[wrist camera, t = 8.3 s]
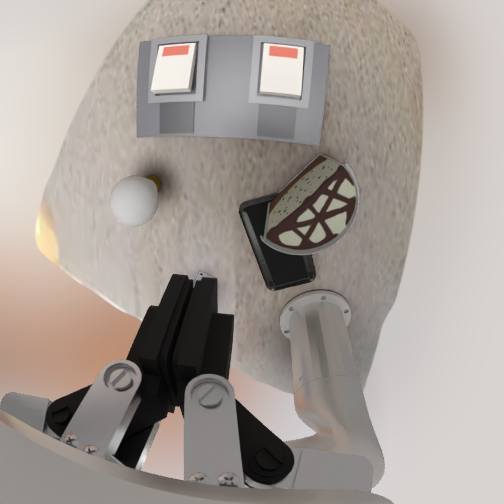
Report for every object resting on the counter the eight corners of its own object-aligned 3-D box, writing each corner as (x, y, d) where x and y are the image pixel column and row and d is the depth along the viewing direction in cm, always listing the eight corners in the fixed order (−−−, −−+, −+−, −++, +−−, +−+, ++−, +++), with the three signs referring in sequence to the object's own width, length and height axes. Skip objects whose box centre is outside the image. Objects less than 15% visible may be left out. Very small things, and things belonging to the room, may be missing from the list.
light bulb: (154, 153, 34) (121, 174, 25) (183, 185, 36) (158, 215, 27) (127, 180, 36) (91, 208, 27) (154, 210, 38) (126, 245, 29)
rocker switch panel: (313, 140, 32) (321, 147, 28) (149, 132, 32) (133, 138, 28) (322, 51, 26) (332, 44, 22) (152, 46, 26) (136, 40, 22)
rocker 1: (190, 91, 25) (187, 87, 23) (154, 93, 24) (150, 90, 23) (197, 47, 23) (195, 42, 22) (162, 50, 23) (159, 45, 22)
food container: (292, 236, 39) (299, 279, 31) (260, 208, 37) (259, 245, 29) (357, 178, 34) (386, 207, 26) (327, 145, 32) (350, 162, 24)
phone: (268, 292, 44) (236, 206, 37) (268, 287, 45) (237, 203, 38) (317, 280, 42) (294, 189, 35) (316, 276, 43) (293, 187, 36)
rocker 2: (299, 97, 25) (301, 95, 24) (259, 93, 25) (259, 91, 24) (302, 51, 23) (303, 47, 22) (263, 47, 23) (263, 42, 22)
